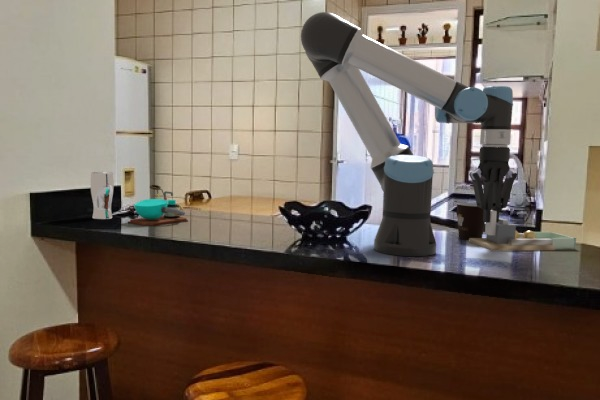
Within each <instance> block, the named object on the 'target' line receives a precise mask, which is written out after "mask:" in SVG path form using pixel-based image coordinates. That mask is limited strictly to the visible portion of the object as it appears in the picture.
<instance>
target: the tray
mask: <svg viewBox="0 0 600 400" xmlns="http://www.w3.org/2000/svg"><path fill="white" fill-rule="evenodd" d="M533 232H534V233H535V234H536V239H553V244H552V245H554V246H555V250H576V246H577V237H572V236H569V235H565V234H561V233H557V232H553V231H533Z"/></svg>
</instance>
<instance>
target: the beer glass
mask: <svg viewBox="0 0 600 400" xmlns="http://www.w3.org/2000/svg"><path fill="white" fill-rule="evenodd" d="M113 174H114V172H112V171H94V172H93V171H91V172H90V195H91V199H92V204H93V205H92V206H93V211H92V212H93V213H92V219H94V220H110V219H112V218H113V213H112V202H113V195H114V188H115V187H114V175H113Z"/></svg>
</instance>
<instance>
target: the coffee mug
mask: <svg viewBox="0 0 600 400" xmlns="http://www.w3.org/2000/svg"><path fill="white" fill-rule="evenodd" d="M483 214H484V210H483V209H482V208H479V207H477V204H476V203H474V202H457V203H456V217H457V230H458V231H457V233H458V239H460V240H462V241H463V240H464V241H469V238H483V234H484V231H485V226H486V222H484V221H483Z"/></svg>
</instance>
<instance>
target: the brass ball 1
mask: <svg viewBox="0 0 600 400" xmlns="http://www.w3.org/2000/svg"><path fill="white" fill-rule="evenodd" d="M519 233H520V232H518V231H517V230H516V231H515V239H518V238H519Z"/></svg>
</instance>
